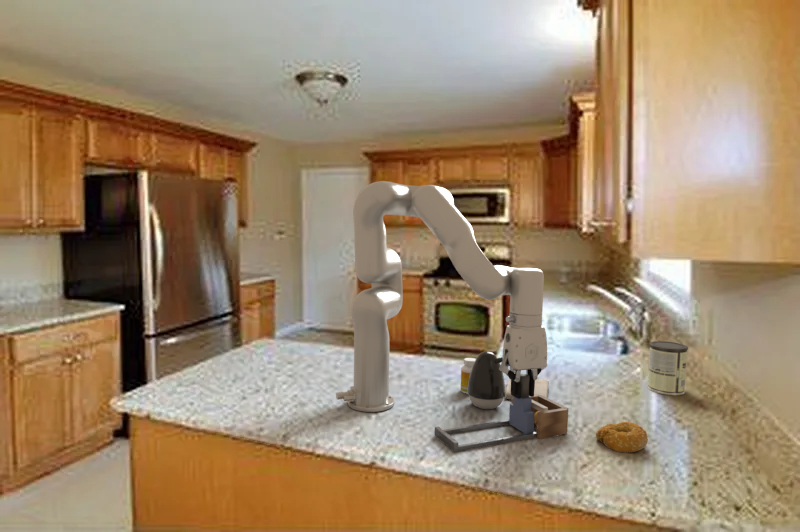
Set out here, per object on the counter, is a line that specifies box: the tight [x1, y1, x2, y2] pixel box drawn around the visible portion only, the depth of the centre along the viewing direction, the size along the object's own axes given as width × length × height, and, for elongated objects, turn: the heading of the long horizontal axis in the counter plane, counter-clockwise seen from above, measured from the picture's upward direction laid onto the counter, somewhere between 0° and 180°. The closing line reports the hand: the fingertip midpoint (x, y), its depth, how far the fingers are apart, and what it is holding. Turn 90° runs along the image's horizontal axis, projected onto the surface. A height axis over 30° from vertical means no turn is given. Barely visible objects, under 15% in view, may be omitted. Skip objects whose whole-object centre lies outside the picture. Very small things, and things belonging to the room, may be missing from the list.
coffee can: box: [647, 340, 689, 396], centre depth 155 cm, size 10×10×14 cm
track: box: [434, 418, 537, 453], centre depth 119 cm, size 22×9×2 cm, turn 113°
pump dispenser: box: [467, 350, 506, 410], centre depth 138 cm, size 10×10×15 cm
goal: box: [510, 394, 569, 440], centre depth 124 cm, size 9×11×7 cm
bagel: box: [595, 421, 649, 454], centre depth 116 cm, size 10×11×5 cm
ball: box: [534, 411, 540, 426], centre depth 125 cm, size 4×4×4 cm
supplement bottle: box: [460, 357, 476, 395], centre depth 150 cm, size 5×5×10 cm
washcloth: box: [505, 378, 550, 400], centre depth 151 cm, size 12×18×3 cm, turn 164°
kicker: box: [508, 373, 535, 434], centre depth 122 cm, size 3×7×13 cm, turn 23°
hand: (522, 395), depth 122 cm, fingers closed on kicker, 3 cm apart
